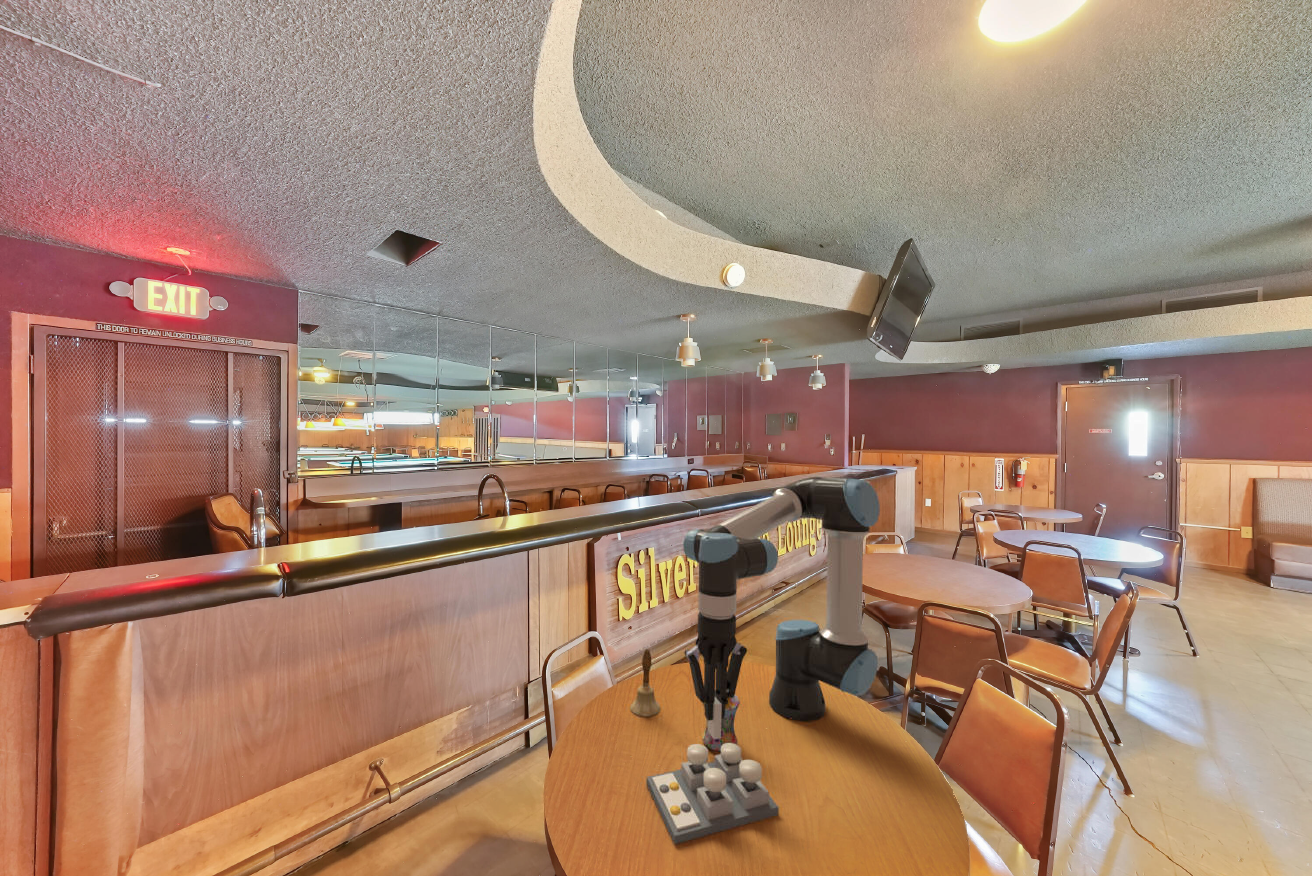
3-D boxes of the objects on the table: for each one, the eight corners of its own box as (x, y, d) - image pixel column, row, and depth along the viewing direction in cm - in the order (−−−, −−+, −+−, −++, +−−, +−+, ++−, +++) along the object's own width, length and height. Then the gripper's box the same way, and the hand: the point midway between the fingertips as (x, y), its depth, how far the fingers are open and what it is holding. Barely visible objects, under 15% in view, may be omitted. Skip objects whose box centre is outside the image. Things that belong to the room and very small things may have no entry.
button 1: (734, 759, 104) (734, 741, 104) (744, 771, 100) (745, 753, 100) (717, 763, 102) (717, 745, 103) (726, 776, 98) (726, 757, 98)
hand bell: (642, 697, 134) (643, 641, 134) (666, 707, 129) (667, 648, 130) (624, 710, 127) (625, 651, 128) (648, 720, 122) (649, 659, 123)
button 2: (753, 776, 96) (754, 757, 97) (765, 791, 92) (765, 771, 92) (735, 781, 95) (735, 762, 95) (746, 796, 91) (746, 776, 91)
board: (737, 762, 106) (737, 745, 106) (778, 814, 91) (778, 794, 91) (646, 784, 99) (646, 766, 99) (674, 844, 84) (674, 822, 84)
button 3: (702, 760, 101) (702, 742, 101) (711, 773, 97) (711, 754, 97) (683, 764, 100) (684, 746, 100) (692, 778, 96) (692, 759, 96)
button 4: (719, 785, 94) (719, 765, 94) (730, 801, 90) (730, 780, 90) (699, 790, 92) (699, 770, 92) (709, 806, 88) (709, 785, 88)
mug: (741, 756, 108) (741, 710, 109) (701, 754, 109) (702, 708, 109) (735, 726, 120) (736, 685, 121) (699, 724, 121) (700, 683, 121)
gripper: (736, 604, 98) (734, 718, 97) (679, 609, 93) (676, 729, 93) (755, 616, 91) (753, 739, 90) (694, 622, 86) (691, 752, 85)
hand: (714, 734), depth 91 cm, fingers closed
